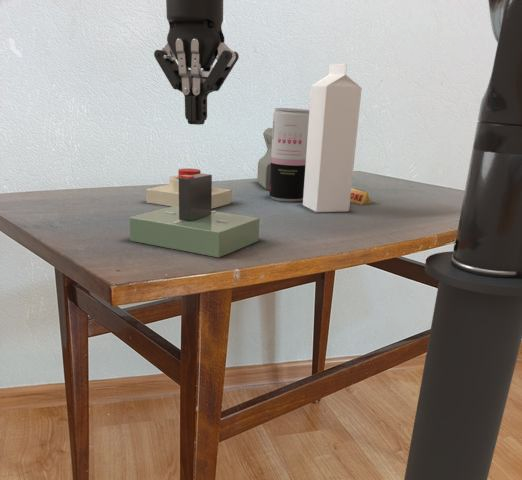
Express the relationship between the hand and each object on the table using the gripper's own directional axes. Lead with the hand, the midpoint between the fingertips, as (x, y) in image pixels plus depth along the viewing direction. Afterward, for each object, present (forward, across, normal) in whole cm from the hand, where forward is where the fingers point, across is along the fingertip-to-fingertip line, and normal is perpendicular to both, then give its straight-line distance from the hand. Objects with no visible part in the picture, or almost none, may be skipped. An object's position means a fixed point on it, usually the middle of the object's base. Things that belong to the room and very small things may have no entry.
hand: (196, 124), depth 84 cm
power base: (+13, -7, +8) cm, 17 cm away
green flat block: (+13, +9, -13) cm, 20 cm away
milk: (+14, +13, +19) cm, 27 cm away
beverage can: (+13, +4, +23) cm, 27 cm away
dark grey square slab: (+10, +9, -13) cm, 18 cm away
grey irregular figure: (+13, -4, +35) cm, 38 cm away
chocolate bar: (+14, +11, +31) cm, 36 cm away
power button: (+9, -7, +8) cm, 14 cm away
